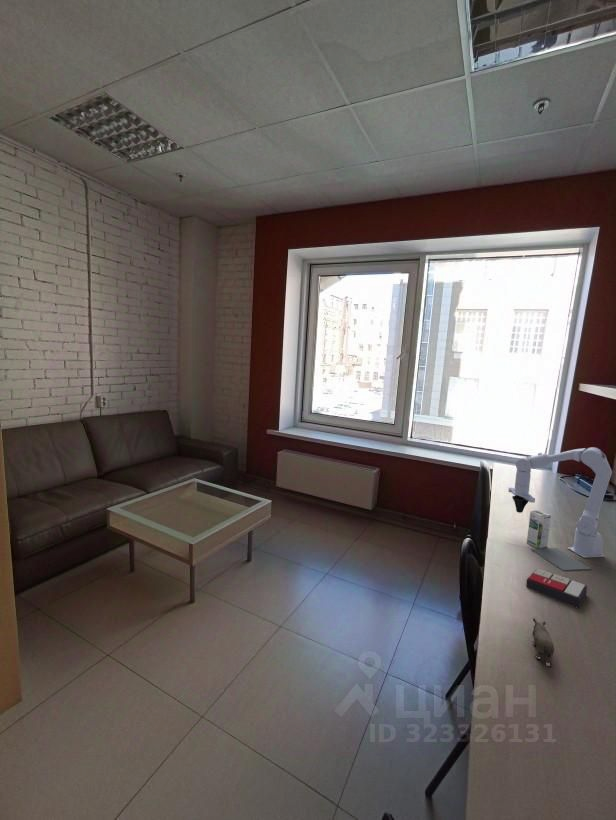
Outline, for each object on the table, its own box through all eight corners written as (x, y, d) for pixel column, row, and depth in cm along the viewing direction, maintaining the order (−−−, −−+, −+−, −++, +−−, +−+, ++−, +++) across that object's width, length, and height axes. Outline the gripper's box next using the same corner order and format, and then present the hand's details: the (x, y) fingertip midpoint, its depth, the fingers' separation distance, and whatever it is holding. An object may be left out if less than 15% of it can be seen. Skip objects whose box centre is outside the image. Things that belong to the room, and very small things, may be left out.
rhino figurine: (544, 633, 103) (546, 613, 102) (554, 669, 90) (557, 647, 90) (527, 628, 104) (529, 609, 104) (535, 663, 92) (538, 641, 91)
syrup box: (525, 542, 159) (529, 510, 157) (535, 541, 161) (538, 509, 159) (538, 549, 153) (542, 516, 152) (548, 547, 156) (551, 514, 154)
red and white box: (536, 566, 133) (587, 583, 121) (535, 578, 133) (586, 595, 122) (526, 577, 125) (579, 596, 114) (525, 589, 125) (578, 609, 114)
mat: (556, 548, 154) (556, 548, 154) (590, 569, 138) (591, 568, 138) (531, 549, 152) (531, 549, 152) (563, 570, 137) (563, 569, 137)
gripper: (503, 478, 173) (501, 506, 174) (526, 488, 159) (522, 518, 160) (517, 478, 174) (514, 506, 175) (540, 488, 160) (537, 518, 161)
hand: (519, 512), depth 168 cm, fingers closed
